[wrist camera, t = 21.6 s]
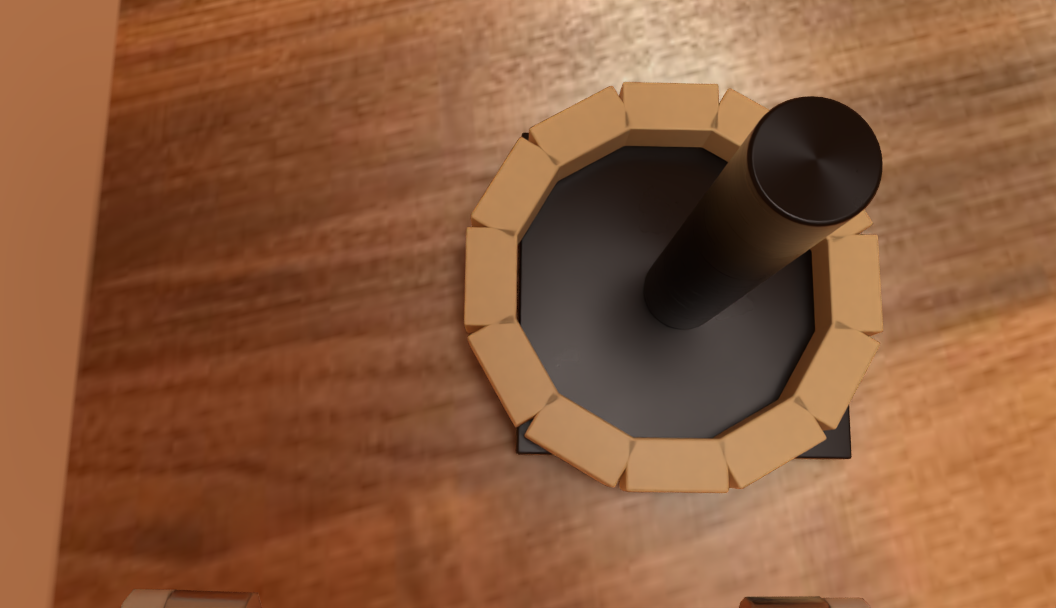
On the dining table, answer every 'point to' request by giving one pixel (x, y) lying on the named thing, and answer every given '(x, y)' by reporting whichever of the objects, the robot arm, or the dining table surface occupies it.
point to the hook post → (692, 273)
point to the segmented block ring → (585, 438)
